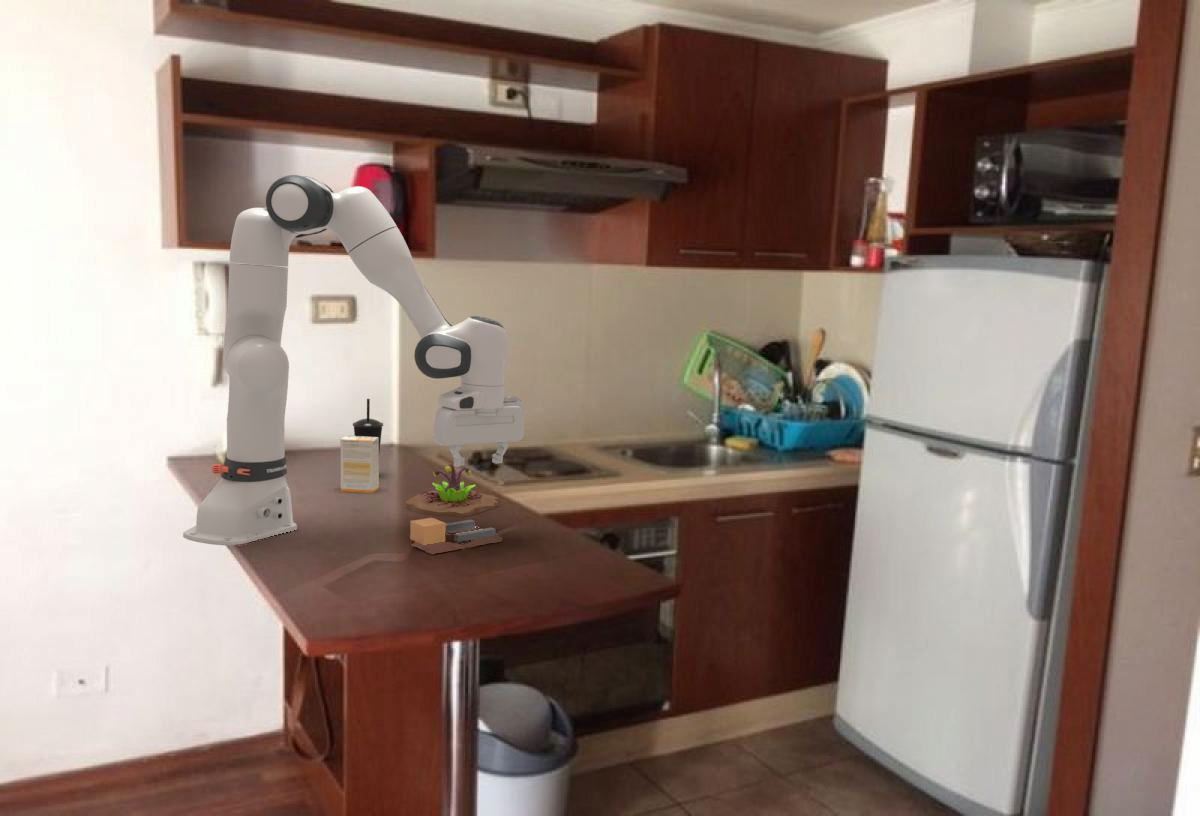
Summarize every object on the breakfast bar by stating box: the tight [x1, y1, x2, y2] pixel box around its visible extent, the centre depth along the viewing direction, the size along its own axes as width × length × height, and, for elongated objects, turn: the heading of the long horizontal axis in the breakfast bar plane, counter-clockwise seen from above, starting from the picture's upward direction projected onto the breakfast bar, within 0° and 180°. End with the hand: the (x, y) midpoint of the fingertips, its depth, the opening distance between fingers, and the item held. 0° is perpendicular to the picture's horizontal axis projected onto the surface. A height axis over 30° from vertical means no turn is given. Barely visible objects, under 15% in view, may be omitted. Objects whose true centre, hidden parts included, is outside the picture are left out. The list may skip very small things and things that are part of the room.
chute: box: [446, 519, 497, 543], centre depth 203 cm, size 17×11×3 cm, turn 132°
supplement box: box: [339, 435, 380, 494], centre depth 241 cm, size 8×5×13 cm, turn 84°
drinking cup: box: [352, 398, 384, 452], centre depth 257 cm, size 8×8×20 cm
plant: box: [404, 463, 499, 518], centre depth 228 cm, size 20×20×11 cm
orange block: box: [409, 517, 447, 545], centre depth 198 cm, size 5×5×4 cm
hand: (478, 464), depth 204 cm, fingers open, 8 cm apart
